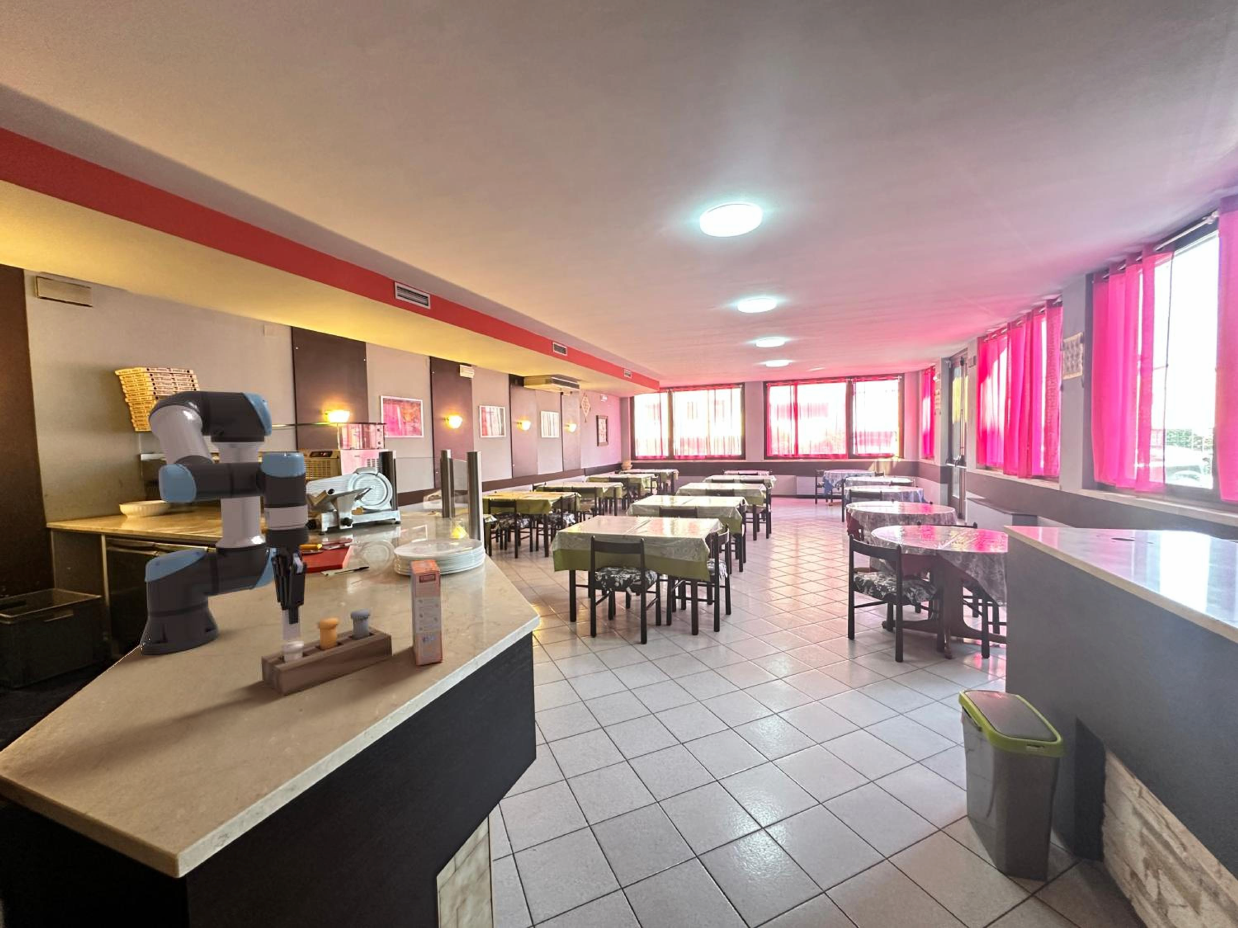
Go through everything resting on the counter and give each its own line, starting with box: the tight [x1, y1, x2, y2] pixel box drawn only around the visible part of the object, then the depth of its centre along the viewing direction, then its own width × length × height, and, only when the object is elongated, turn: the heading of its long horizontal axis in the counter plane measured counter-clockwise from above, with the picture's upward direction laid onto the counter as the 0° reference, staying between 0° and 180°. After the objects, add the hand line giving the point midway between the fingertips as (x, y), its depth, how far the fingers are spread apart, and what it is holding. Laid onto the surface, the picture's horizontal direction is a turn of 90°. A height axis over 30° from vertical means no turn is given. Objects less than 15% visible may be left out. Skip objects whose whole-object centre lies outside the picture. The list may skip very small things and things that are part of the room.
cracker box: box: [409, 558, 444, 667], centre depth 117 cm, size 14×6×21 cm, turn 26°
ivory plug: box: [281, 640, 305, 663], centre depth 105 cm, size 4×4×7 cm
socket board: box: [260, 626, 393, 697], centre depth 110 cm, size 12×22×5 cm, turn 142°
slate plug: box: [350, 609, 371, 641], centre depth 116 cm, size 4×4×7 cm
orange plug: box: [316, 617, 340, 651], centre depth 110 cm, size 4×4×7 cm
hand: (292, 637), depth 105 cm, fingers closed
